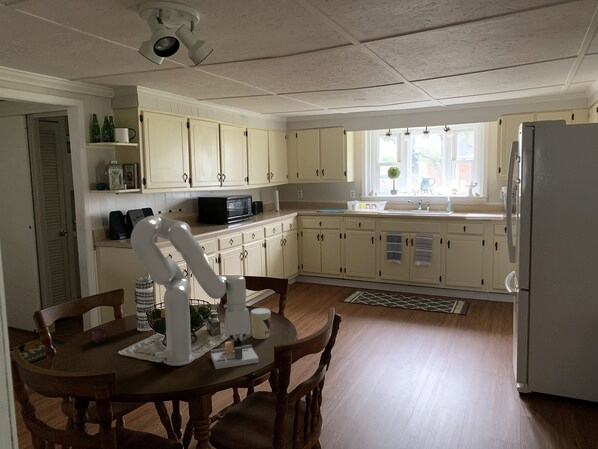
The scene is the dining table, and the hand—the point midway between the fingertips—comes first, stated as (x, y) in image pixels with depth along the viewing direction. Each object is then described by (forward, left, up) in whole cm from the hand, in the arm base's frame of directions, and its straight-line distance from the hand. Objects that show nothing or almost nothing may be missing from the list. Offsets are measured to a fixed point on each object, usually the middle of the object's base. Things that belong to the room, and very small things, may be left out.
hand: (237, 349), depth 189 cm
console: (-2, -3, -3) cm, 5 cm away
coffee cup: (+15, +19, -3) cm, 24 cm away
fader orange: (-4, 0, -1) cm, 4 cm away
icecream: (-55, +37, -3) cm, 67 cm away
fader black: (-1, -6, -1) cm, 7 cm away
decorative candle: (-35, +49, -3) cm, 60 cm away
